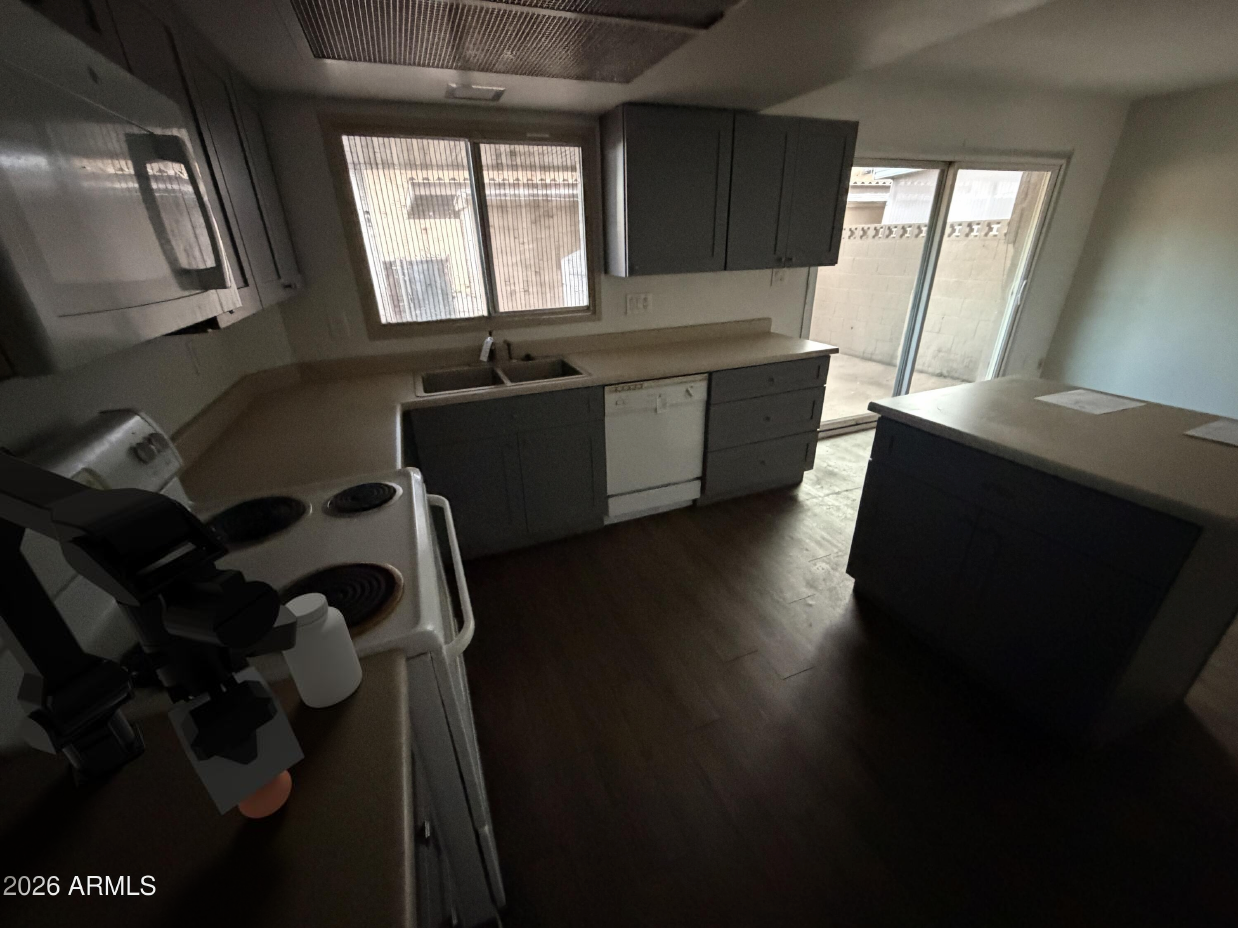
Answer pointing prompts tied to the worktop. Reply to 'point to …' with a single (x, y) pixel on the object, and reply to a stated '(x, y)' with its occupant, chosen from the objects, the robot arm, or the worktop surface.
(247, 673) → the grey cube
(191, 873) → the worktop surface
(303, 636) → the pill bottle
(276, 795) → the ball
